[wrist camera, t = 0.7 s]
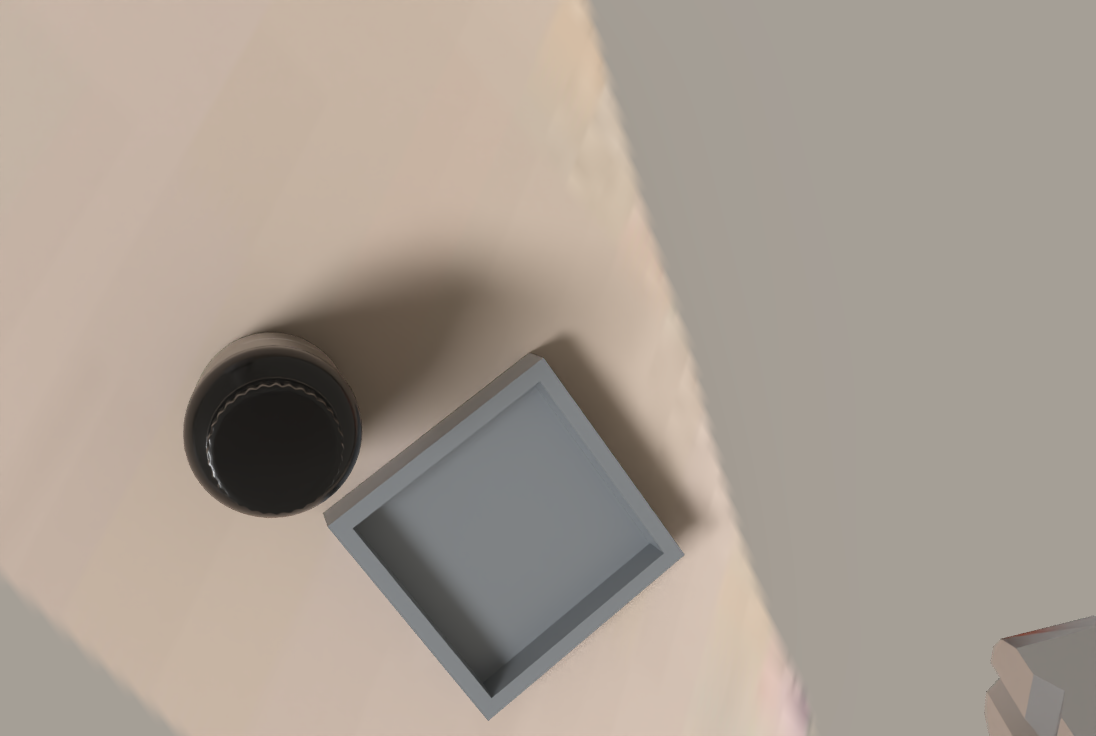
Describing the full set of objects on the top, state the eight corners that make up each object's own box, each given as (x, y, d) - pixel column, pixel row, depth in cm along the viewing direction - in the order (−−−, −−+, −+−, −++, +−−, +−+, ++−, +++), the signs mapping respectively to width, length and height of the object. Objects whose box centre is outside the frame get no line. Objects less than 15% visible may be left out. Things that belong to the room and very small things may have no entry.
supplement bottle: (295, 302, 49) (314, 318, 37) (371, 425, 50) (411, 477, 39) (161, 379, 47) (138, 420, 36) (243, 503, 49) (246, 581, 37)
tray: (323, 513, 50) (327, 526, 48) (529, 352, 52) (543, 357, 50) (476, 699, 53) (488, 720, 51) (665, 541, 55) (684, 554, 53)
